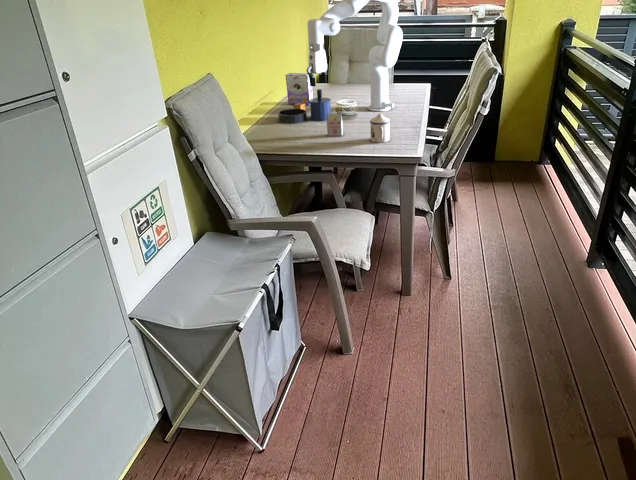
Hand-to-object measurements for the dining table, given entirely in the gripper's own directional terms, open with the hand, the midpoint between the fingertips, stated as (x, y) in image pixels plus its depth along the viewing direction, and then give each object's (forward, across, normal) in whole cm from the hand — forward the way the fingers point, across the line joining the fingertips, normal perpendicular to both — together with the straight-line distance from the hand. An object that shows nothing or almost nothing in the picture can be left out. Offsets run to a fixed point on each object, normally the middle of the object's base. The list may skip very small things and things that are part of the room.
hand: (318, 84), depth 272 cm
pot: (+17, 0, 0) cm, 17 cm away
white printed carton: (+17, -22, -24) cm, 37 cm away
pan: (+17, -8, +12) cm, 22 cm away
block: (+17, +6, +18) cm, 25 cm away
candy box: (+17, +23, +30) cm, 42 cm away
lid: (+8, 0, 0) cm, 8 cm away
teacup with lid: (+17, -22, -48) cm, 56 cm away
